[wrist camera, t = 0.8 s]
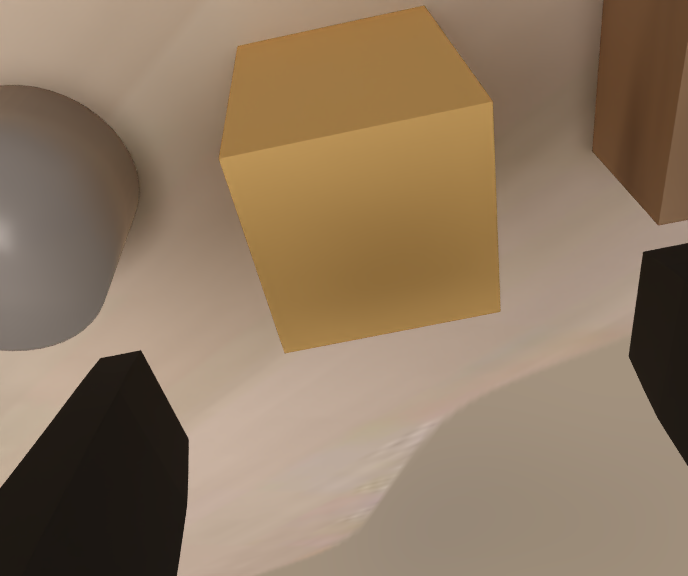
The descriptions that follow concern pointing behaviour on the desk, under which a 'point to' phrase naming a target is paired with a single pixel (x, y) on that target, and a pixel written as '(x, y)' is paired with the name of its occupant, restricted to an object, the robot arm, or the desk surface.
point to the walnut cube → (645, 103)
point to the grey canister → (58, 215)
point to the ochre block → (364, 179)
